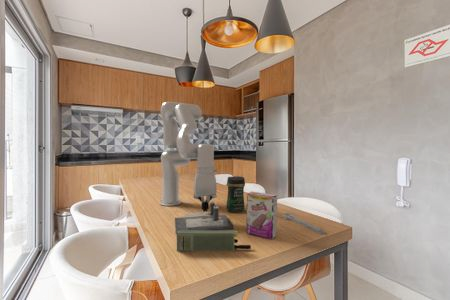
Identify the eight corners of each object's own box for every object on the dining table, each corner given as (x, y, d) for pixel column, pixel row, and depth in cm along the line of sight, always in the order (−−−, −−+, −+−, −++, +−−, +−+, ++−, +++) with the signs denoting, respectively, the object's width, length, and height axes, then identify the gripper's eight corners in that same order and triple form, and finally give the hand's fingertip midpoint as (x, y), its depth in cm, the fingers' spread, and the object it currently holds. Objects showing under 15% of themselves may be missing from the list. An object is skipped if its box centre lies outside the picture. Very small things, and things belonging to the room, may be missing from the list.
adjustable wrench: (326, 235, 90) (327, 230, 90) (314, 237, 88) (314, 232, 88) (290, 215, 114) (290, 212, 114) (279, 216, 112) (279, 213, 112)
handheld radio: (178, 247, 77) (250, 248, 77) (176, 253, 74) (251, 253, 74) (178, 229, 77) (250, 229, 77) (176, 233, 73) (251, 233, 74)
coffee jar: (229, 213, 115) (229, 177, 114) (224, 209, 122) (225, 175, 122) (246, 212, 118) (247, 177, 117) (241, 208, 125) (241, 175, 125)
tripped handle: (209, 215, 104) (210, 201, 104) (214, 214, 105) (214, 201, 104) (210, 216, 102) (210, 202, 102) (214, 216, 103) (215, 202, 102)
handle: (213, 220, 96) (213, 206, 96) (217, 220, 97) (217, 205, 97) (214, 222, 94) (214, 207, 94) (218, 222, 95) (218, 207, 95)
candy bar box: (245, 234, 89) (246, 193, 89) (250, 230, 93) (251, 191, 93) (272, 240, 83) (273, 197, 83) (276, 235, 88) (277, 194, 87)
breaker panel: (174, 221, 103) (174, 213, 103) (225, 217, 108) (225, 210, 108) (175, 233, 88) (175, 225, 88) (233, 229, 94) (233, 220, 94)
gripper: (219, 169, 107) (219, 207, 108) (188, 170, 104) (188, 209, 104) (223, 171, 100) (222, 212, 100) (189, 172, 97) (189, 214, 97)
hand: (205, 210), depth 102 cm, fingers closed
